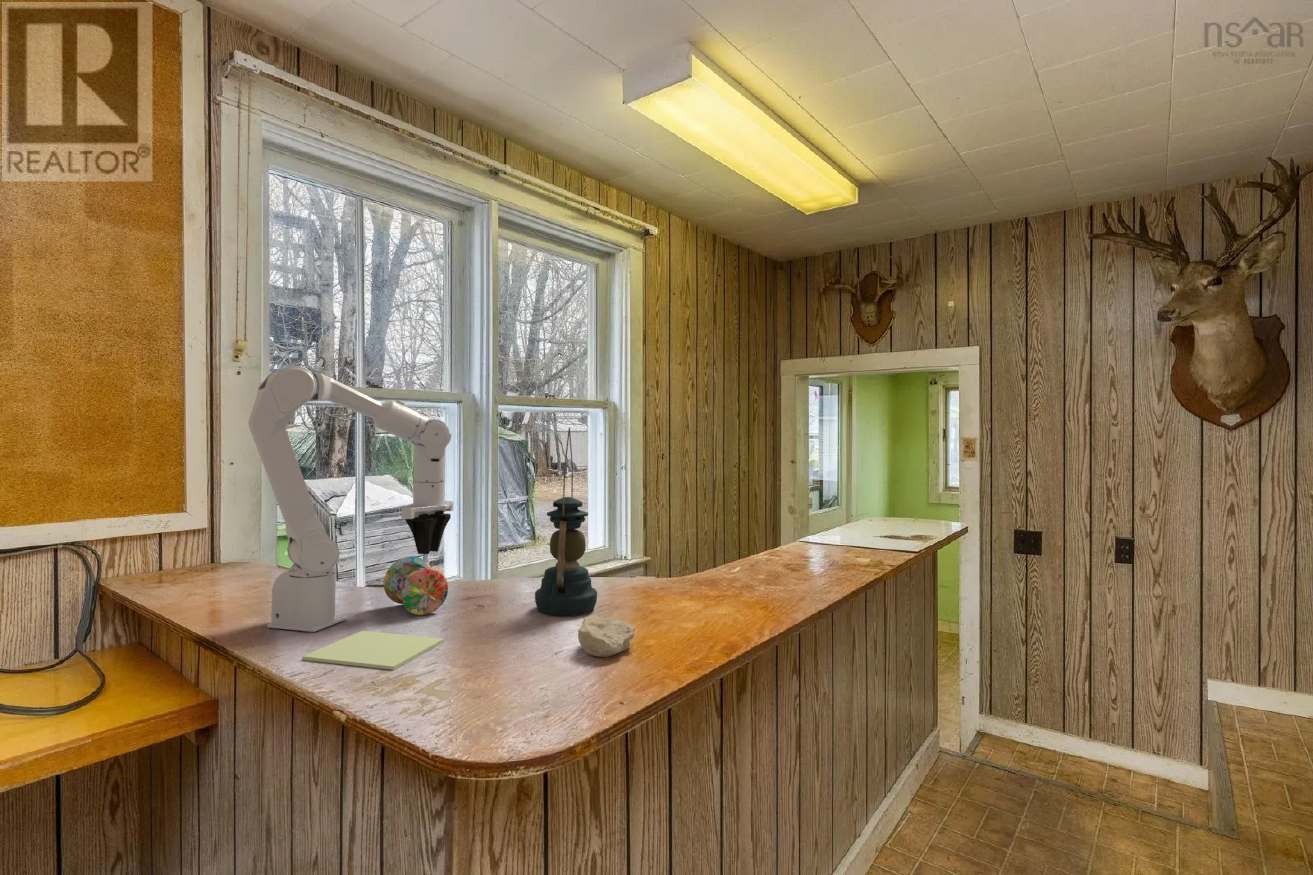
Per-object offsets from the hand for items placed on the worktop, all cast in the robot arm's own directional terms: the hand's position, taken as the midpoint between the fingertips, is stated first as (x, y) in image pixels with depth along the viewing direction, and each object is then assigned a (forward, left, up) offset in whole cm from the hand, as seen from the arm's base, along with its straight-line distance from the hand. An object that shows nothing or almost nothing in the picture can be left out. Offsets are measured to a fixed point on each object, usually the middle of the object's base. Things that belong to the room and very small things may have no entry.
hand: (428, 552), depth 124 cm
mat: (+7, -25, -10) cm, 28 cm away
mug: (+5, -5, -7) cm, 10 cm away
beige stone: (+40, -14, -11) cm, 44 cm away
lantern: (+26, +6, -11) cm, 29 cm away
